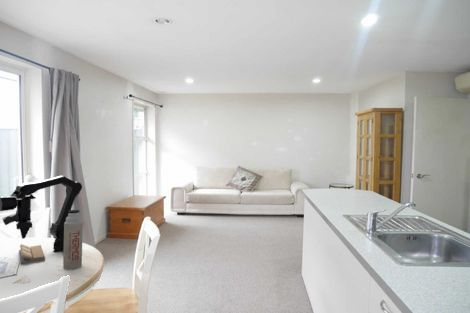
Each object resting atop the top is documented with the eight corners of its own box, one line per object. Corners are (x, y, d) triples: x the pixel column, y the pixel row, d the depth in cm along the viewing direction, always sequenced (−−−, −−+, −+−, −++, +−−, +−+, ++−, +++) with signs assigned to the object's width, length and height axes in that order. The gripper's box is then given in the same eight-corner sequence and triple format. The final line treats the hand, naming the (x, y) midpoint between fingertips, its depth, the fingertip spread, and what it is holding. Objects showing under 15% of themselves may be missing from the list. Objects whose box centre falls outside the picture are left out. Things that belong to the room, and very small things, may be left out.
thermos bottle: (81, 268, 142) (83, 211, 141) (62, 271, 138) (64, 212, 137) (81, 262, 149) (83, 208, 148) (63, 264, 145) (65, 209, 144)
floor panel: (19, 252, 159) (19, 248, 159) (40, 248, 165) (40, 245, 165) (20, 264, 143) (20, 260, 143) (44, 260, 150) (44, 256, 150)
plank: (20, 245, 159) (21, 244, 159) (28, 248, 161) (29, 246, 161) (21, 256, 144) (22, 254, 144) (31, 259, 146) (32, 257, 147)
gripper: (3, 206, 151) (3, 236, 152) (3, 213, 136) (3, 246, 137) (29, 204, 158) (29, 232, 158) (32, 211, 143) (32, 242, 144)
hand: (23, 238), depth 149 cm, fingers closed
